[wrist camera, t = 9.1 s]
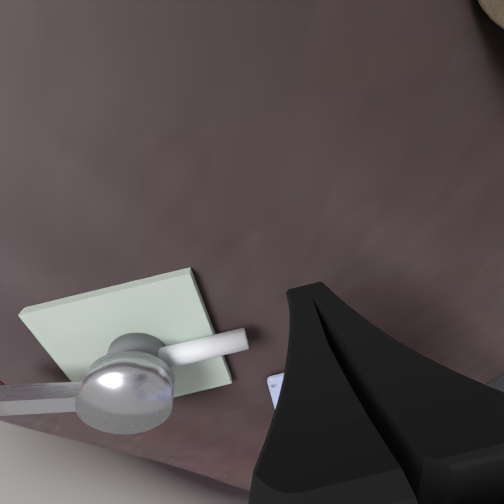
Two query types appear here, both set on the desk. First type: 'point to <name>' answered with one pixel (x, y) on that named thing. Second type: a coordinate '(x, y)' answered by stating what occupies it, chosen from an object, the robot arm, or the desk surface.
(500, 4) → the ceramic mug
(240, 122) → the desk surface
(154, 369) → the key lever
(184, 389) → the base
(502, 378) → the disk drive
